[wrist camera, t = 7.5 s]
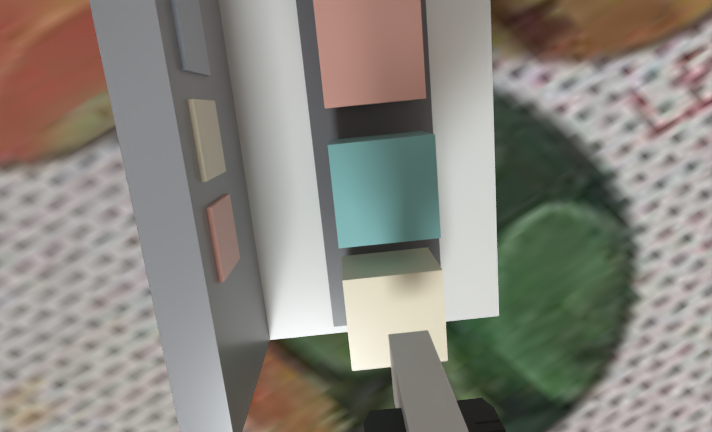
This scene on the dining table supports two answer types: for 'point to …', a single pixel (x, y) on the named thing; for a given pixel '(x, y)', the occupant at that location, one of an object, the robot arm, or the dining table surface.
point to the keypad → (277, 177)
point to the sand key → (392, 302)
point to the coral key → (370, 51)
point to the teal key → (385, 188)
